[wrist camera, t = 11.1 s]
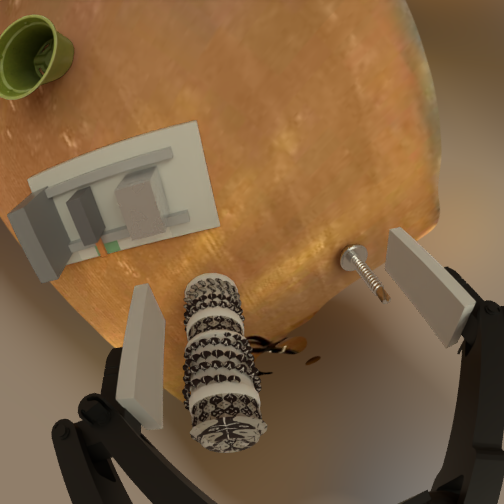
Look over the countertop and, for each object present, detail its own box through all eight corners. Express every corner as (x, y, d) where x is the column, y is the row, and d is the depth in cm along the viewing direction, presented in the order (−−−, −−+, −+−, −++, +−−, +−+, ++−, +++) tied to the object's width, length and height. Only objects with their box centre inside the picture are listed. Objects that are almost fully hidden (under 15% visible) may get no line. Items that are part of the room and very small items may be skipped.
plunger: (126, 174, 33) (113, 191, 28) (157, 165, 33) (149, 180, 28) (140, 217, 36) (132, 240, 31) (169, 210, 36) (165, 232, 31)
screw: (329, 255, 46) (349, 233, 45) (347, 268, 49) (366, 247, 47) (366, 309, 36) (392, 282, 34) (384, 320, 38) (408, 296, 36)
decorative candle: (171, 302, 46) (170, 452, 25) (201, 260, 43) (215, 421, 22) (219, 322, 50) (240, 461, 29) (251, 285, 47) (292, 432, 26)
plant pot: (49, 108, 27) (14, 117, 20) (14, 66, 22) (-23, 68, 15) (100, 53, 26) (73, 46, 18) (61, 12, 21) (30, -1, 13)
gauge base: (32, 175, 31) (0, 199, 24) (196, 119, 33) (196, 129, 25) (67, 260, 39) (48, 295, 32) (219, 221, 40) (225, 254, 33)
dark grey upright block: (77, 190, 32) (65, 202, 29) (90, 186, 32) (79, 197, 29) (101, 250, 37) (94, 266, 34) (113, 247, 37) (107, 263, 34)
